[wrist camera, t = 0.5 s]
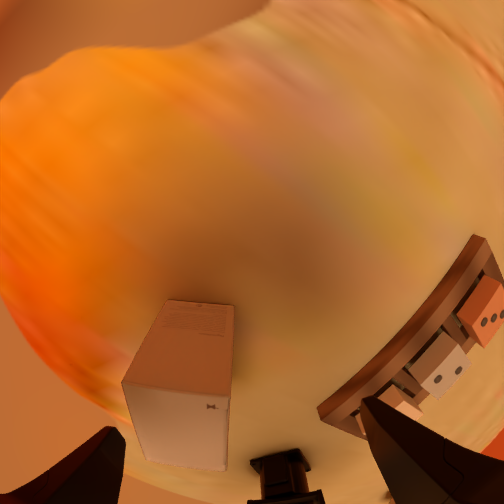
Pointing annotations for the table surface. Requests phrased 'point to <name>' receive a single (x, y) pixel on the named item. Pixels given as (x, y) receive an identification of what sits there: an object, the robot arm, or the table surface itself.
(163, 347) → the small box
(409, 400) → the tile one pip
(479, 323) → the tile three pip
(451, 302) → the tile tray
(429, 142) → the table surface
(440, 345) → the tile two pip
